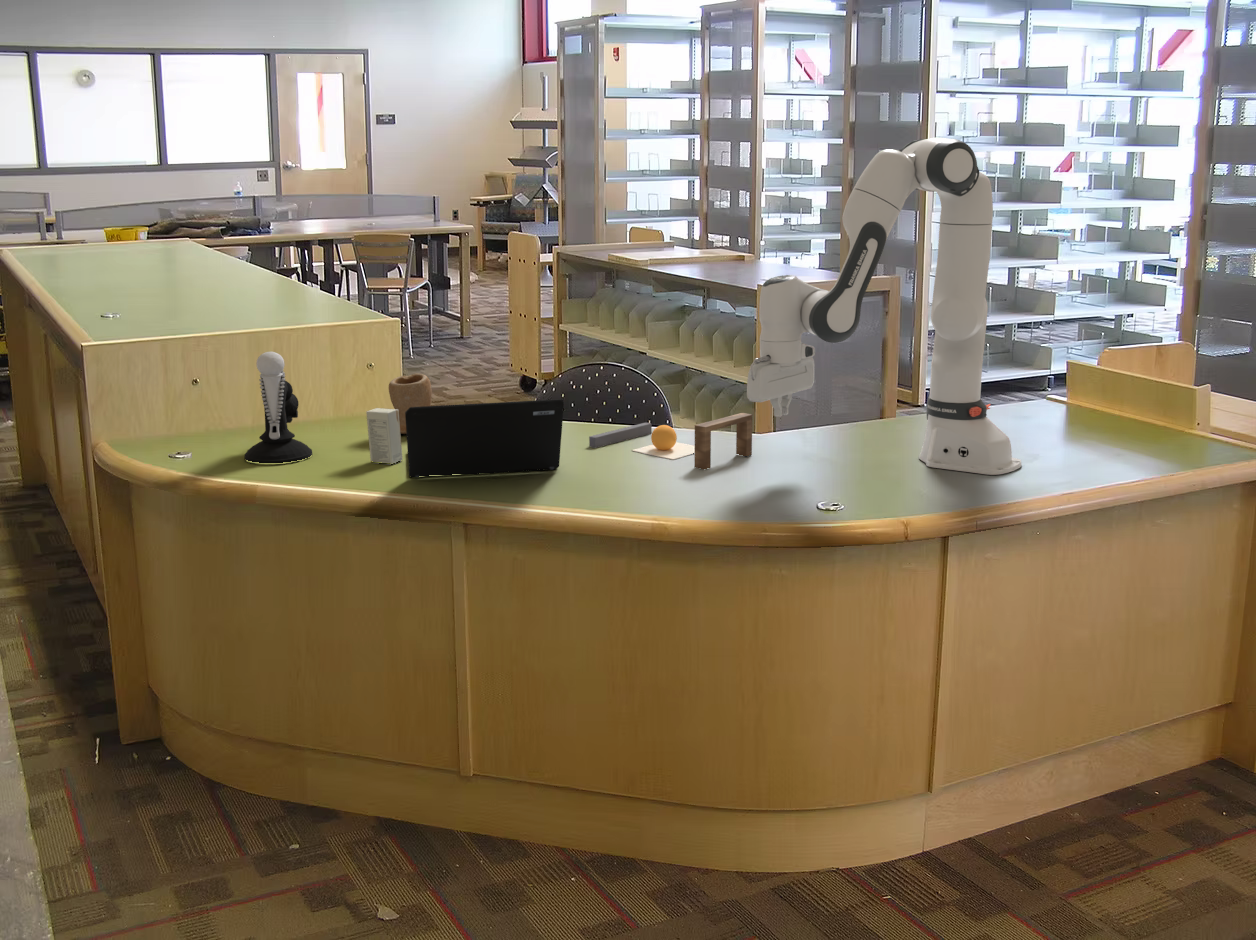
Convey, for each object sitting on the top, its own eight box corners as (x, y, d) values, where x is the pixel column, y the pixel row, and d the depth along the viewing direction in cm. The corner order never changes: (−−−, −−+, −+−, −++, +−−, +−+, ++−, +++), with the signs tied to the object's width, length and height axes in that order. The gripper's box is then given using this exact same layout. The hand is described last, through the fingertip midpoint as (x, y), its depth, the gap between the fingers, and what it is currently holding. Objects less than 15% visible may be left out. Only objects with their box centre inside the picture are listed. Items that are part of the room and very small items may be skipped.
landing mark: (709, 449, 298) (709, 448, 298) (673, 459, 289) (673, 459, 289) (667, 441, 306) (667, 440, 306) (631, 450, 297) (631, 450, 297)
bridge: (751, 455, 292) (752, 414, 290) (704, 469, 280) (705, 427, 278) (741, 453, 294) (742, 412, 292) (694, 467, 282) (694, 425, 280)
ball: (665, 449, 301) (683, 447, 297) (648, 453, 297) (667, 450, 293) (661, 425, 301) (679, 422, 297) (644, 428, 297) (662, 425, 293)
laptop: (547, 447, 303) (545, 368, 298) (567, 489, 268) (565, 399, 263) (407, 454, 298) (403, 373, 293) (408, 497, 262) (403, 406, 257)
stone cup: (384, 438, 312) (380, 379, 308) (396, 428, 323) (393, 370, 319) (444, 439, 310) (441, 379, 307) (454, 428, 322) (452, 370, 318)
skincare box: (403, 461, 290) (400, 409, 287) (392, 465, 286) (389, 412, 283) (380, 458, 293) (377, 406, 289) (368, 462, 289) (365, 410, 286)
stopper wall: (651, 433, 315) (651, 423, 314) (595, 447, 300) (595, 437, 300) (645, 432, 316) (645, 422, 315) (589, 446, 302) (589, 436, 301)
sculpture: (239, 466, 287) (229, 357, 280) (257, 442, 309) (249, 341, 303) (307, 464, 288) (299, 355, 282) (321, 440, 311) (313, 339, 304)
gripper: (763, 360, 261) (764, 426, 264) (819, 346, 275) (819, 409, 279) (739, 358, 265) (740, 422, 268) (795, 344, 279) (796, 406, 283)
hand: (781, 415), depth 274 cm, fingers closed
